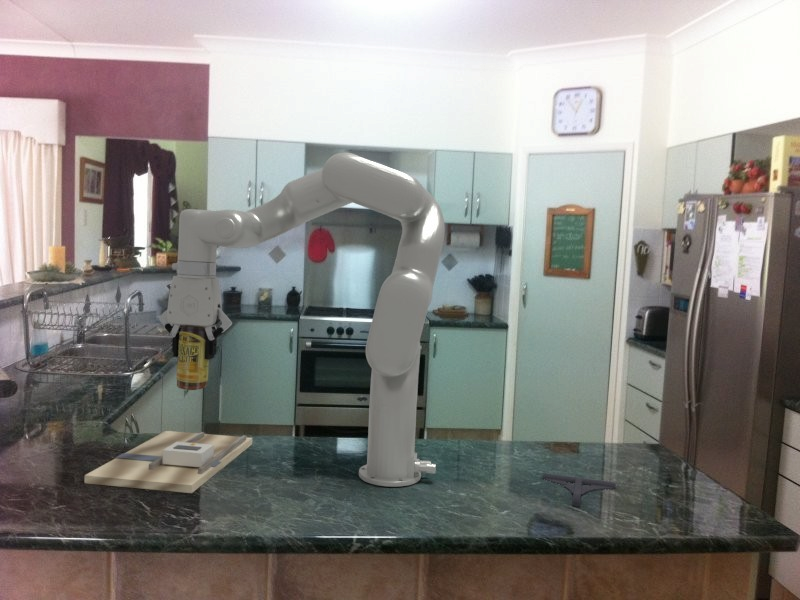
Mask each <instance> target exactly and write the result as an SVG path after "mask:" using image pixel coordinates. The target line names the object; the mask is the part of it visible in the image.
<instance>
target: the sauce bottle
mask: <svg viewBox="0 0 800 600" xmlns="http://www.w3.org/2000/svg"><path fill="white" fill-rule="evenodd" d="M206 340H208V336H207V333H206V330H205V328H204V327H196V326H191V325H186V326H183V325H182V327H181V330H180V332H179V345H178V357H177V364H176V365H177V366H176V386H177V388H178V389H182V390H189V391H196V390H203V389H206V388H207V386H208V381H209V367H210V366H209V365H210V359H209V360H206V359H205V341H206Z"/></svg>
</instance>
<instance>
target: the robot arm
mask: <svg viewBox="0 0 800 600" xmlns="http://www.w3.org/2000/svg"><path fill="white" fill-rule="evenodd" d="M352 203H353V204H355V205H358V206H360V207H364V208H366V209H369V210H372V211H374V212H377V213H380V214H381V215H385V216H387V217H390V218H392V219H394V220H397V221H399V222H400V225H401V228H402V229H401V230H402V231H401V237H400V241H399V243H398V246H397V247H398V248H397V252H396V257H395V260H394V265H393V268H392V271H391V274H390V275H389V276H387V278H386V279H385V280H384V281H383V283H382V285H381V286H380V290H379V293H378V296H377V300H376V302H375V303H376V305H375V308H374V310H373V311H374V313H373V316H372V320H371V324H370V327H369V328H370V329H369V331H368V336H367V339H366V345H365V357H366V360H367V363H368V365H369V366H370V368H371V375H370V390H369V404H368V405H369V409H368V410H369V411H368V431H367V433H368V435H367V456H366V458H367V459H366V464H364V465H362V466H360V468H359V469H358V476H359V478H360V479H361V480H362V481H364V482H366V483H368V484H370V485H373V486H378V487H387V488H388V487H389V488H390V487H391V488H393V487H395V488H398V487H399V488H400V487H407V486H411V485H414V484H417V483H418V482H419V481H420V480H421V478H422V473H426V474H436V472H437V464H436V463H432V461H431V460H420V458H418V453H417V452H415V447H416V426H417V425H416V424H417V423H416V422H417V406H418V405H417V404H418V388H419V386H418V385H419V373H420V360H421V359H420V358H421V338H422V337H421V336H422V333H423V329H424V325H425V322H426V318H427V314H428V310H429V308H430V305H431V302H432V300H433V292H434V291H433V290H434V284H435V280H436V276H437V273H438V268H439V264H440V259H441V254H442V250H443V245H444V241H445V231H446V230H445V218H444V216H443V211H442V209H441V207H440V205H439V202H437V200H436V199H435V197H434V196H433V195H432V194H431V193H430V192H429V191H428V189H426V188H425V187H424V186H423V185H422V183H421V182H420V181H419V180H418V179H417V178H415V177H414V176H413V175H411V174H408V173H406V172H403V171H401V170H397V169H395V168H392V167H390V166H388V165H387V166H386V165H384V164H381V163H379V162H377V161H376V162H375V161H372V160H370V159H368V158H365V157H362V156H360V155H357V154H355V153H351V152H339V153H335V154H333V155H332V156H330V157H329V158H328V159H327V160H326V162H324V164H323V167H321V168H319V169H317V170H315V171H311V173H308V174H305V175H303V176H301V177H298V178H296V179H293V180H292V181H289V182H288V183H286V184H285V185H284V187H283V189H282V190H281V192H280V193H279V194H278V195H277V196H276V197H274V198H272V199H271V200H269V201H268V202H266V203H263V204H261V205H258V206H256V207H253V208H251V209H249V210H247V211H242V210H235V209H222V210H221V209H220V210H208V209H197V208H196V209H195V208H193V209H192V208H190V209H189V208H187V209H186V208H185V209H183V210H182V211H181V212H180V214H179V221H178V223H179V224H178V245H177V246H178V249H177V250H178V251H177V261H176V262H173V263H172V264H171V269H172V270H173V271H176V274H177V275H173V276H172V280H171V283H170V288H169V293H168V301H167V309H166V310H165V311H164V312H162V314H160V315H159V316H158V321H159V322H160V323H161V325H163V326H164V328H165V330H166V331H167V332H168V334H169V335H170V337H171V338H172V343H171V345H172V346H171V347H172V349H171V351H172V353H173V357H174V358H178V345H179V332H180V330H181V327H182V325H183V326H186V325H191V326H196V327H204V328H205V330H206V333H207V336H208V340H206V341H205V359H206V360H209V361H210V360H212V359H214V358H215V355H216V354H217V342H218V341H217V339H219V338H220V337H221V336H222V335H223V334H224V333H225V331H226V330H228V329H229V328H230V327H231V326H232V325H233V322H232V320H231V319H230V318H229V317H228V315H227V314H226V313H225V312H224V311H223V310H222V309H223V308H222V307H223V306H222V305H223V304H222V292H221V291H222V290H221V285H220V279H219V278H218V277H217V276H216V275H217V255H218V252H217V251H218V249H217V248H218V246H219V247H224V248H230V249H231V248H232V249H233V248H234V249H237V248H238V249H239V248H240V249H241V248H242V249H247V248H253V247H255V246H258V245H260V244H262V243H265V242H267V241H270V240H272V239H275V238H276V237H279V236H281V235H284V234H286V233H287V232H289V231H291V230H293V229H295V228H298V227H301V226H302V225H304V224H306V223H308V222H309V221H312V220H314V219H317V218H319V217H321V216H323V215H326V214H328V213H331V212H333V211H335V210H338V209H341V208H342V207H345V206H347V205H350V204H352ZM219 324H220V325H219ZM216 325H219V327H217V326H216Z"/></svg>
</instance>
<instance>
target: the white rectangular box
mask: <svg viewBox="0 0 800 600" xmlns="http://www.w3.org/2000/svg"><path fill="white" fill-rule="evenodd" d="M213 457H214V445H211V444H199V443H187V442H175V443H174V444H172V445H170V446H169V447H167V448H165V449H164V450H163V464H169V465H180V466H191V467H201V466H203V465H204V464H205V463H207V462H208V461H209V460H211V459H212V458H213Z"/></svg>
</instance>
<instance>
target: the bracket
mask: <svg viewBox="0 0 800 600" xmlns="http://www.w3.org/2000/svg"><path fill="white" fill-rule="evenodd" d="M544 479H545V480H544ZM542 480H544V481H546V480H547V481H546V482H549V481H551V482H550V483H552V482H555V483H557V484H556V485H558V484H560V485H562V486H564V487H563V488H565V487H566V488H567V489H566V488H565V489H566V490H568V491H569V492H570V493H571V494H572V495H573V496H572V507H576V508H580V505H581V497H582V496H583V495H585V494H587V493H590V492H595V491H608V489H609V490H610V489H611V490H616V482H613V481H605V480H597V479H590V478H582V477H576V476H575V477H574V476H569V475H567V476H566V475H560V474H552V473H546V472H545V473H542ZM567 482H570V483H567ZM555 483H554V484H555ZM573 483H575V484H573ZM560 485H559V486H560ZM587 485H589V486H587ZM562 486H561V487H562ZM605 489H606V490H605ZM594 490H595V491H594ZM611 490H610V491H611Z"/></svg>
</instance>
